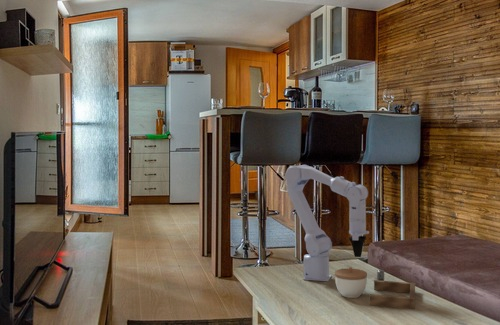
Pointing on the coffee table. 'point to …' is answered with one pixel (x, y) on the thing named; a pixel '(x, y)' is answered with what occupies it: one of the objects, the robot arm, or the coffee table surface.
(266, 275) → the coffee table surface
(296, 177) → the robot arm
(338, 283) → the lidded jar
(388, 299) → the walnut shelf
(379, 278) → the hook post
